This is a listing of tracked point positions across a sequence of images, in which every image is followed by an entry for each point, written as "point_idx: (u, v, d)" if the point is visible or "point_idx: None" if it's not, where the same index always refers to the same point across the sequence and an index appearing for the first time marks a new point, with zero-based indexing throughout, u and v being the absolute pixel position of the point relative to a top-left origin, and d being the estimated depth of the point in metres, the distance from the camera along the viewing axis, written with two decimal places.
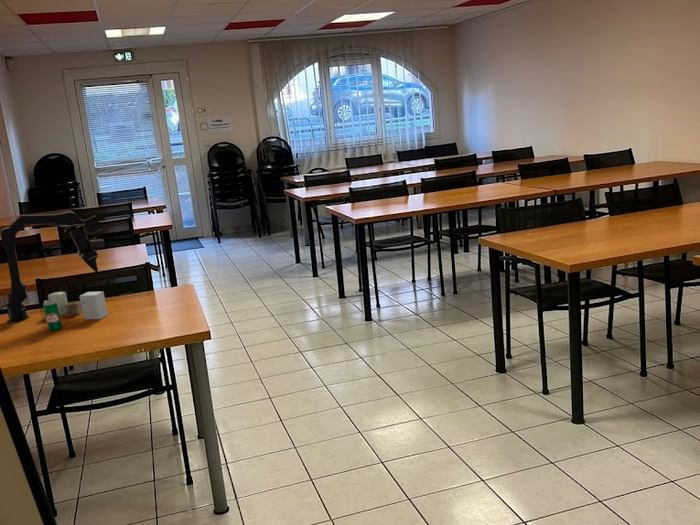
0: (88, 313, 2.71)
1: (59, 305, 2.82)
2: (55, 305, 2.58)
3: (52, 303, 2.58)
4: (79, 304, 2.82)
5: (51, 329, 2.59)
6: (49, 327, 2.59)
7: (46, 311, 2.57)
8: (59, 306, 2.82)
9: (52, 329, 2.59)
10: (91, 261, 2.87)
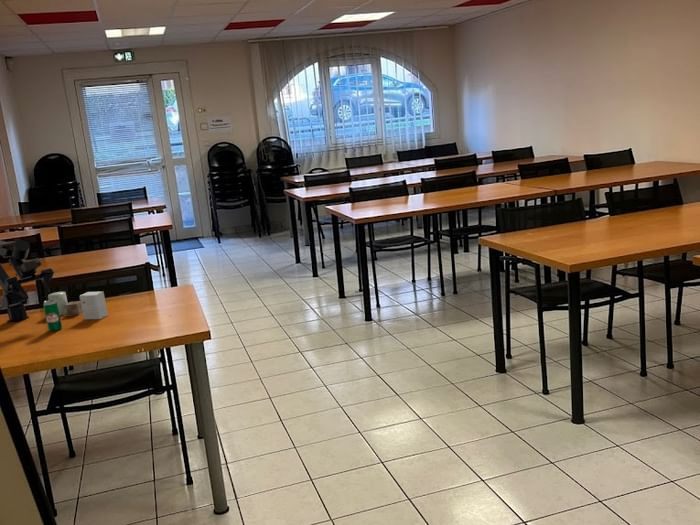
0: (88, 313, 2.71)
1: (59, 305, 2.82)
2: (55, 305, 2.58)
3: (52, 303, 2.58)
4: (79, 304, 2.82)
5: (51, 329, 2.59)
6: (49, 327, 2.59)
7: (46, 311, 2.57)
8: (59, 306, 2.82)
9: (52, 329, 2.59)
10: (18, 289, 2.61)
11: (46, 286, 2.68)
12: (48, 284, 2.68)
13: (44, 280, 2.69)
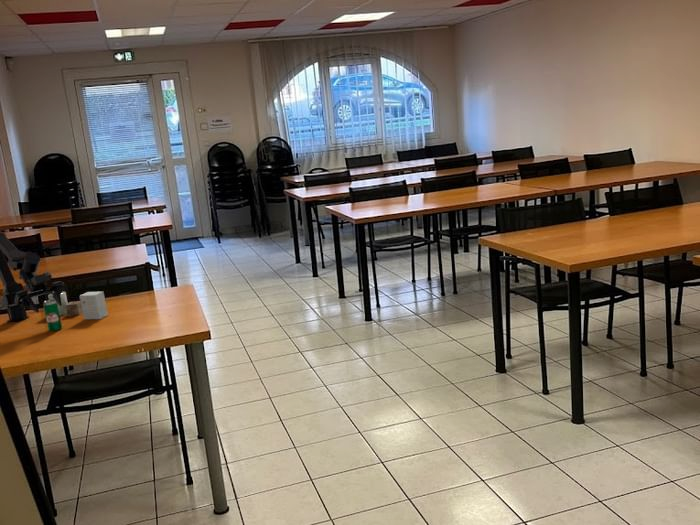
0: (88, 313, 2.71)
1: (59, 305, 2.82)
2: (55, 305, 2.58)
3: (52, 303, 2.58)
4: (79, 304, 2.82)
5: (51, 329, 2.59)
6: (49, 327, 2.59)
7: (46, 311, 2.57)
8: (59, 306, 2.82)
9: (52, 329, 2.59)
10: (29, 303, 2.58)
11: (57, 299, 2.65)
12: (59, 297, 2.64)
13: (55, 293, 2.66)
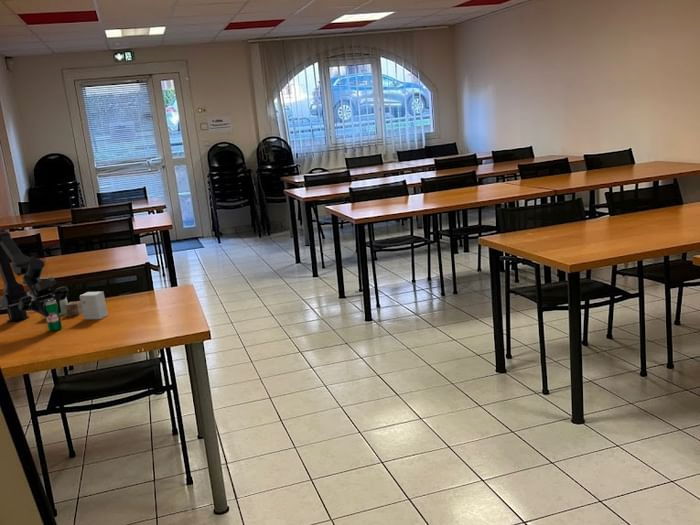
0: (88, 313, 2.71)
1: None
2: (55, 305, 2.58)
3: (52, 303, 2.58)
4: (79, 304, 2.82)
5: (51, 329, 2.59)
6: (49, 327, 2.59)
7: (46, 311, 2.57)
8: None
9: (52, 329, 2.59)
10: (37, 307, 2.58)
11: None
12: (58, 304, 2.62)
13: None
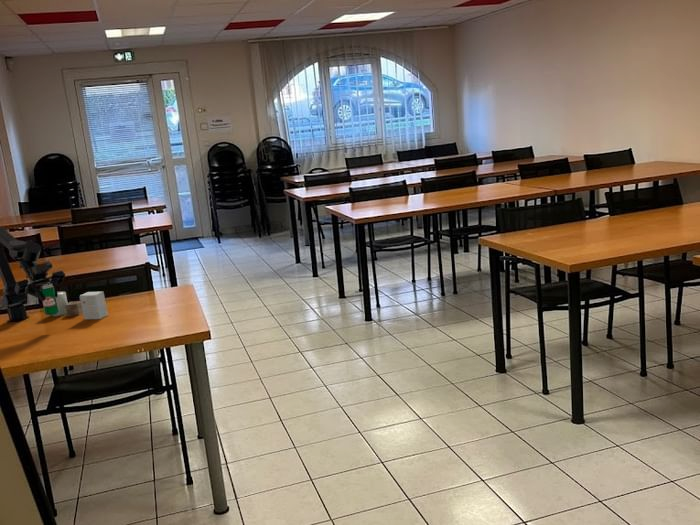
0: (88, 313, 2.71)
1: (59, 305, 2.82)
2: (52, 289, 2.57)
3: (49, 287, 2.56)
4: (79, 304, 2.82)
5: (47, 313, 2.58)
6: (45, 311, 2.58)
7: (43, 295, 2.56)
8: (59, 306, 2.82)
9: (48, 313, 2.58)
10: (34, 291, 2.57)
11: None
12: (55, 288, 2.60)
13: None
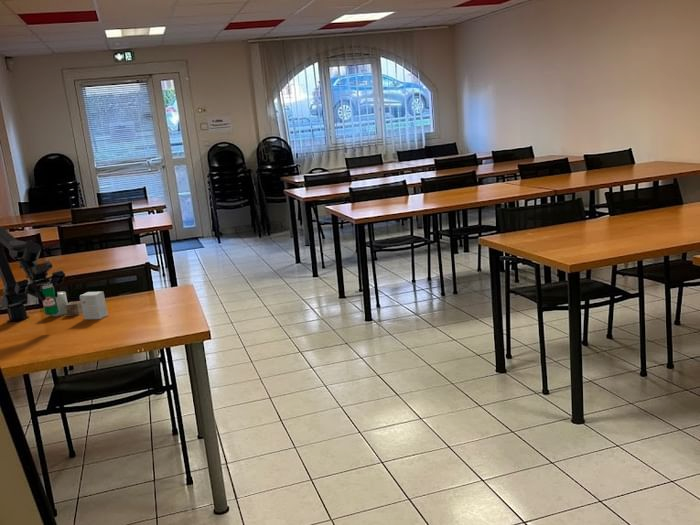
0: (88, 313, 2.71)
1: (59, 305, 2.82)
2: (52, 289, 2.57)
3: (49, 287, 2.56)
4: (79, 304, 2.82)
5: (47, 313, 2.58)
6: (45, 311, 2.58)
7: (43, 295, 2.56)
8: (59, 306, 2.82)
9: (48, 313, 2.58)
10: (34, 291, 2.57)
11: None
12: (55, 288, 2.60)
13: None
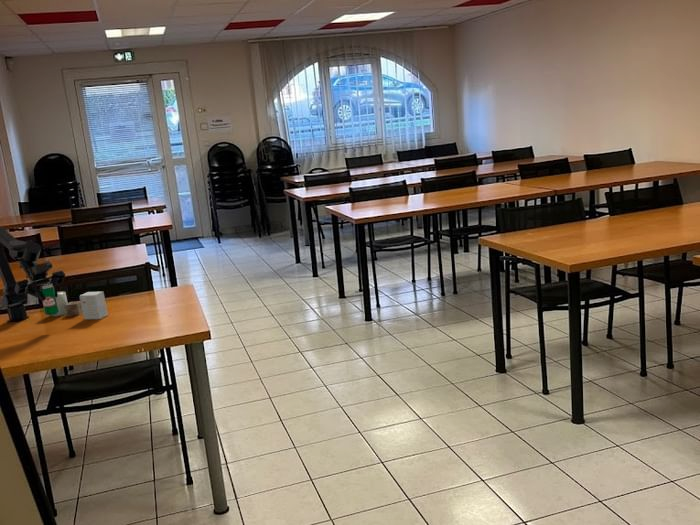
0: (88, 313, 2.71)
1: (59, 305, 2.82)
2: (52, 289, 2.57)
3: (49, 287, 2.56)
4: (79, 304, 2.82)
5: (47, 313, 2.58)
6: (45, 311, 2.58)
7: (43, 295, 2.56)
8: (59, 306, 2.82)
9: (48, 313, 2.58)
10: (34, 291, 2.57)
11: None
12: (55, 288, 2.60)
13: None
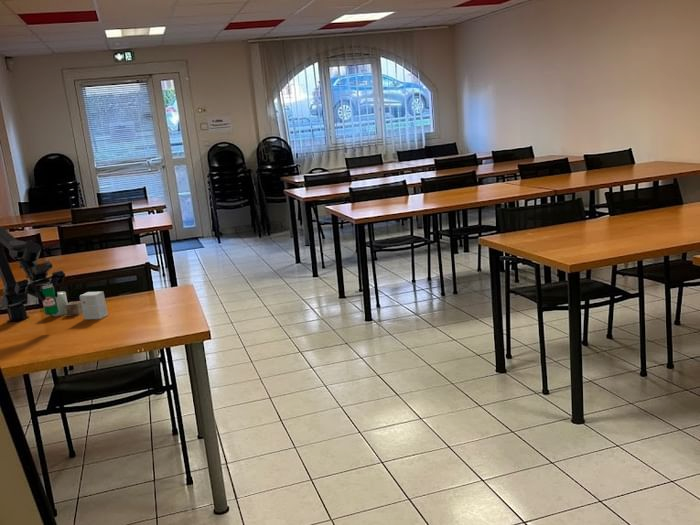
0: (88, 313, 2.71)
1: (59, 305, 2.82)
2: (52, 289, 2.57)
3: (49, 287, 2.56)
4: (79, 304, 2.82)
5: (47, 313, 2.58)
6: (45, 311, 2.58)
7: (43, 295, 2.56)
8: (59, 306, 2.82)
9: (48, 313, 2.58)
10: (34, 291, 2.57)
11: None
12: (55, 288, 2.60)
13: None
